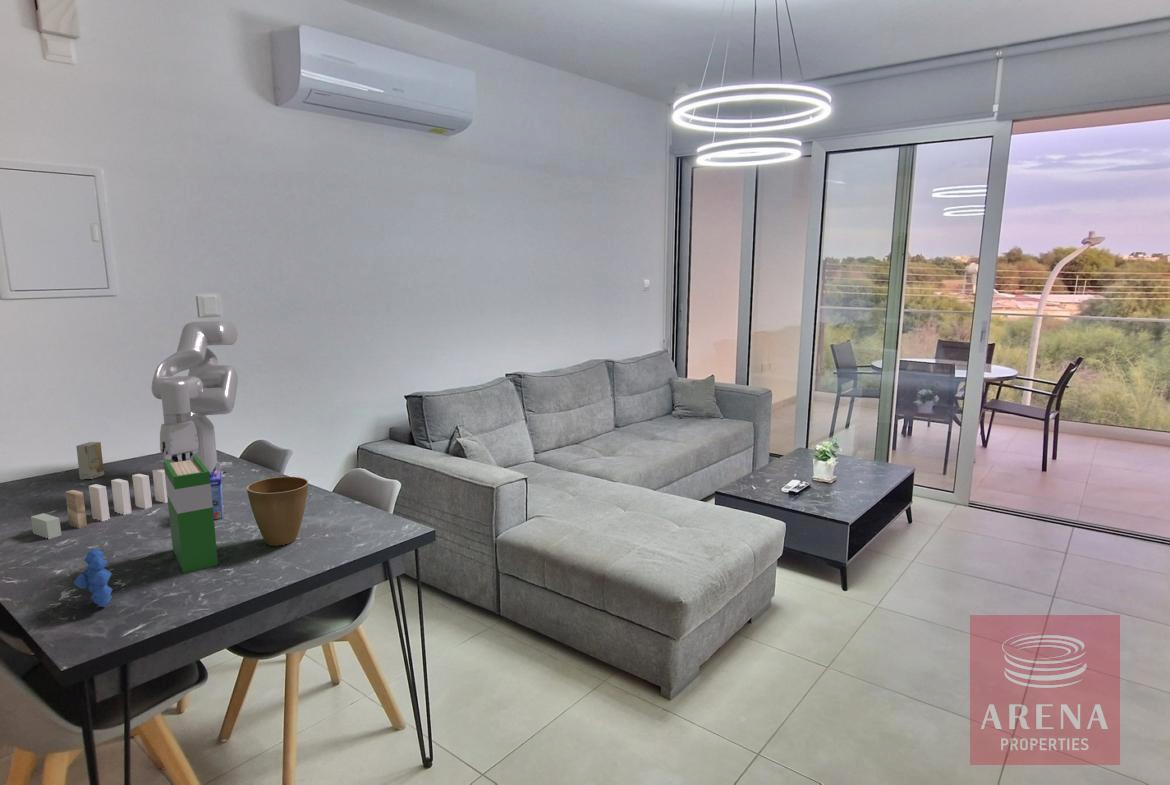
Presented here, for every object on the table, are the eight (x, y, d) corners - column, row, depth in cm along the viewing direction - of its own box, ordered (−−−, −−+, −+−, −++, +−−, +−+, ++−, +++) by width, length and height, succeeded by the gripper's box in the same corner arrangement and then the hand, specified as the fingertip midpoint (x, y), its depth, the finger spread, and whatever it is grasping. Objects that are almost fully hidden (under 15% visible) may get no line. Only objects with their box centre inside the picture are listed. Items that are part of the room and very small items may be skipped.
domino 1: (77, 523, 189) (73, 489, 187) (87, 526, 187) (82, 492, 185) (69, 525, 187) (65, 491, 185) (79, 528, 185) (74, 494, 183)
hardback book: (172, 549, 171) (163, 460, 167) (205, 542, 176) (196, 456, 172) (183, 573, 158) (173, 477, 154) (218, 565, 162) (209, 471, 158)
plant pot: (282, 555, 168) (277, 495, 165) (238, 547, 173) (233, 488, 170) (324, 534, 182) (320, 479, 179) (282, 527, 187) (278, 473, 184)
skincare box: (91, 480, 228) (87, 446, 226) (79, 480, 228) (75, 445, 226) (105, 474, 235) (101, 441, 233) (93, 474, 235) (89, 441, 233)
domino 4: (142, 504, 205) (139, 473, 203) (152, 506, 203) (148, 475, 201) (135, 506, 203) (132, 475, 201) (145, 508, 201) (141, 477, 199)
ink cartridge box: (224, 518, 193) (219, 471, 191) (202, 521, 191) (197, 473, 188) (224, 508, 202) (220, 462, 200) (204, 511, 200) (199, 465, 197)
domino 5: (162, 498, 210) (158, 468, 208) (171, 501, 208) (168, 470, 206) (155, 500, 208) (152, 470, 207) (165, 503, 206) (162, 472, 204)
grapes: (72, 599, 144) (65, 548, 142) (109, 589, 149) (103, 539, 147) (81, 619, 136) (74, 565, 134) (120, 608, 141) (114, 555, 139)
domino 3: (121, 510, 200) (118, 478, 198) (131, 513, 197) (128, 481, 196) (114, 512, 198) (111, 480, 196) (124, 515, 196) (120, 482, 194)
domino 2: (100, 516, 194) (96, 484, 193) (109, 519, 192) (105, 486, 190) (92, 518, 192) (88, 485, 191) (102, 521, 190) (98, 488, 189)
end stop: (46, 530, 183) (43, 513, 183) (61, 535, 180) (59, 518, 179) (33, 533, 181) (30, 516, 180) (48, 539, 177) (46, 521, 176)
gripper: (193, 413, 218) (197, 467, 221) (146, 421, 205) (152, 478, 208) (207, 415, 215) (212, 469, 218) (161, 423, 202) (166, 481, 204)
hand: (182, 473), depth 213 cm, fingers closed
